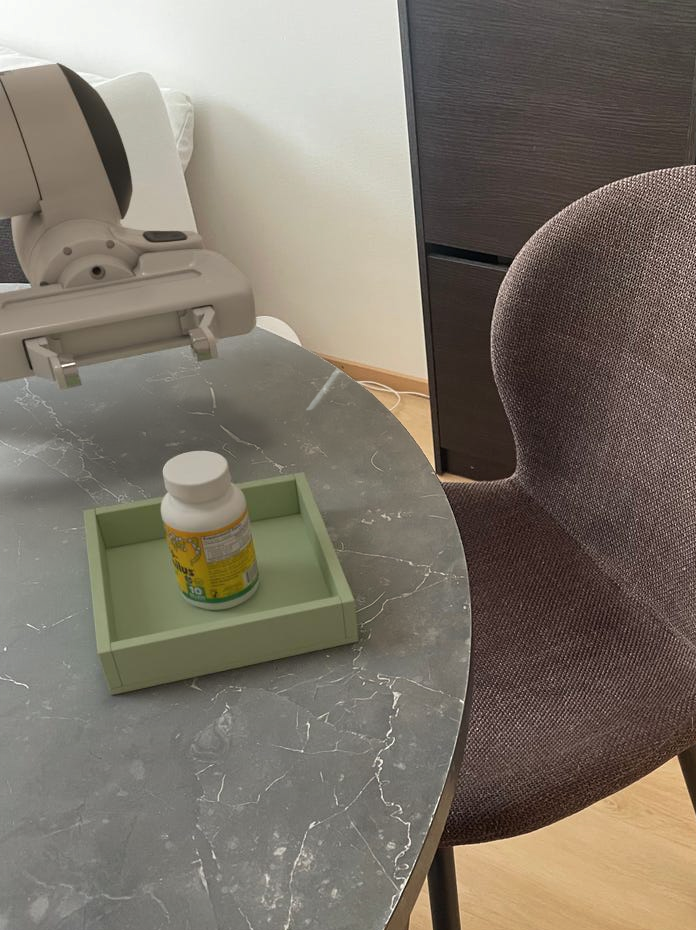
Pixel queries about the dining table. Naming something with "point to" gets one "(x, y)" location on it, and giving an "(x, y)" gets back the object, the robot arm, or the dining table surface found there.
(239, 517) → the supplement bottle
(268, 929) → the dining table surface
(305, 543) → the tray
